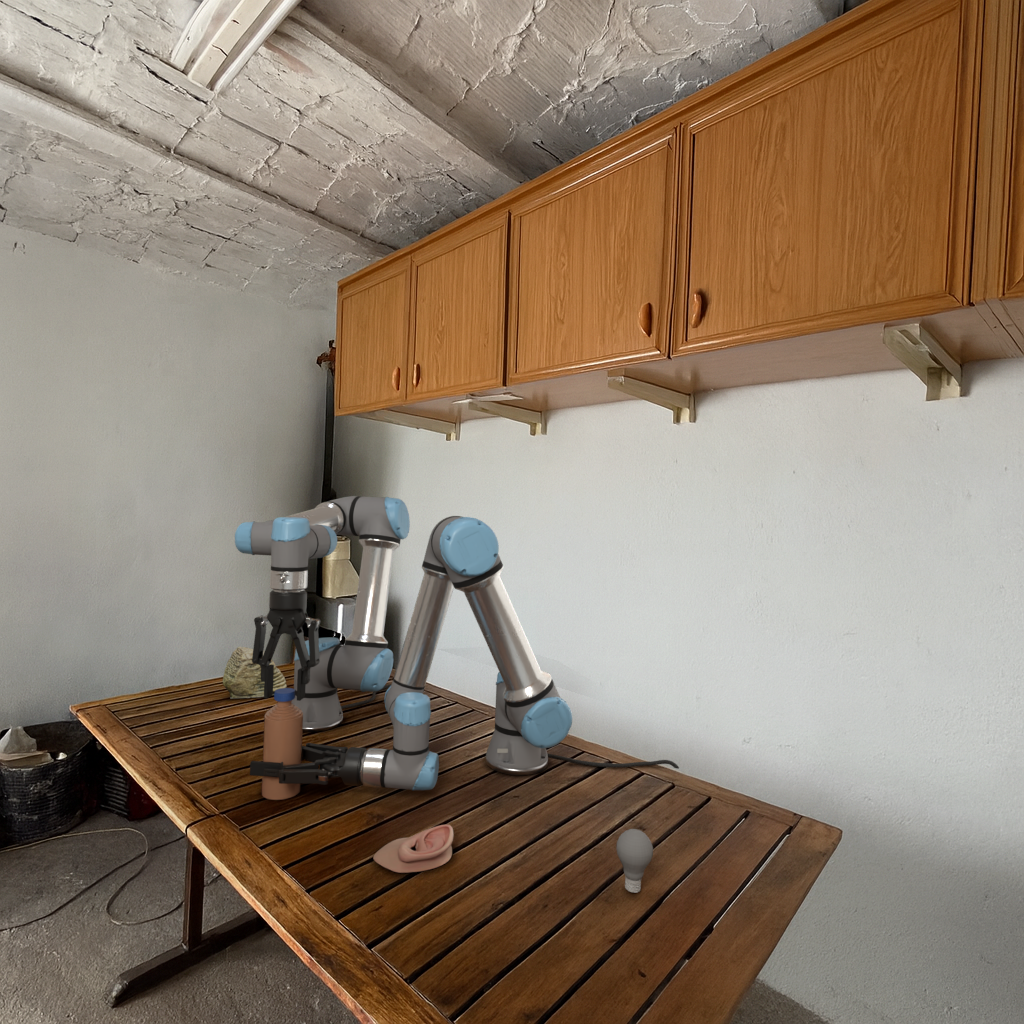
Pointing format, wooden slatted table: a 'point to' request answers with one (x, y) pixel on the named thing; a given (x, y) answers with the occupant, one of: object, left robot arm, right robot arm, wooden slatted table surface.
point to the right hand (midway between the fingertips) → (260, 759)
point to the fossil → (248, 675)
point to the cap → (284, 694)
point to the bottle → (282, 746)
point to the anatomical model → (417, 851)
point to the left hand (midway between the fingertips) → (284, 697)
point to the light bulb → (634, 857)
